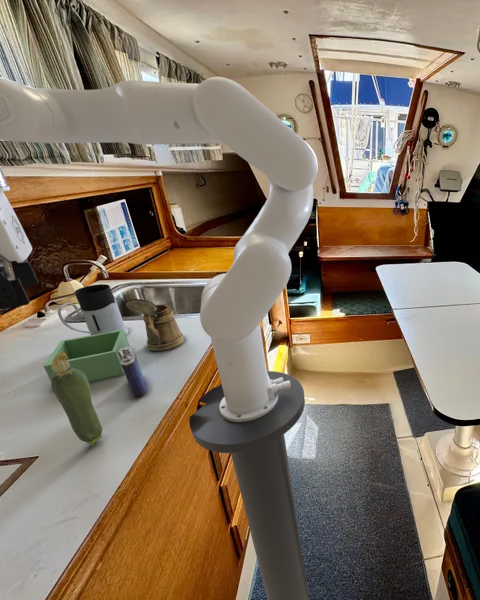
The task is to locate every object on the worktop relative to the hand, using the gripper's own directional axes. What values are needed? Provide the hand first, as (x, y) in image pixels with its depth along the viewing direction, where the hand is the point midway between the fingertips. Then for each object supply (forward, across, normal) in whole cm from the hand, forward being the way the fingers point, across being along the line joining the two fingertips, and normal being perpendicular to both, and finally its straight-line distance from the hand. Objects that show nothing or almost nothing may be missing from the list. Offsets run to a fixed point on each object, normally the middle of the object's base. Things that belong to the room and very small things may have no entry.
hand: (20, 295), depth 51 cm
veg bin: (+30, +27, -1) cm, 40 cm away
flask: (+30, +12, -9) cm, 33 cm away
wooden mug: (+30, +29, -15) cm, 44 cm away
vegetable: (+30, -2, -1) cm, 30 cm away
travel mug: (+30, +44, -2) cm, 54 cm away
